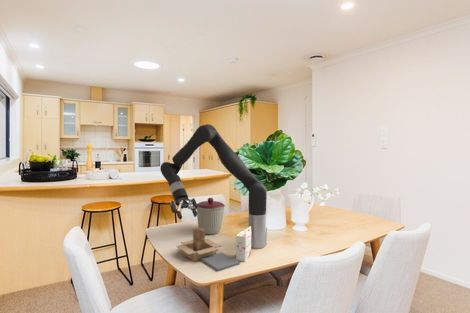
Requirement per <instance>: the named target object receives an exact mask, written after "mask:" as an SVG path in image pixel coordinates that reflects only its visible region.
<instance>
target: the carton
mask: <svg viewBox="0 0 470 313" xmlns="http://www.w3.org/2000/svg"><path fill="white" fill-rule="evenodd" d="M180 243H181V244H180V245H176V247H177V249H179V250H180V251H181V253H182V254H183V255H184V256H186V257H187V258H188V259H190V260H192V261H193V262H197V261H201V260H200V258H202V257H206V256H209V255H213V254H216V253H217V251H218V250H219V249H218V248H219V247H222V246H221V245H220V244H219V243H216V242H215V241H213V240H211V239H209V238H206V239H205V249H203V250H199V251H193V239H191V240H186V241H181V242H180Z"/></svg>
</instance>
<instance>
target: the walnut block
mask: <svg viewBox="0 0 470 313" xmlns="http://www.w3.org/2000/svg"><path fill="white" fill-rule="evenodd" d="M192 230H193V234H192V235H193V236H192V240H193V251H199V250H203V249H205V238H206V237H205V236H206V234H205V230H204V229H202V228H199V227H198V228H193V229H192Z"/></svg>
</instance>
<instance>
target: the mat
mask: <svg viewBox="0 0 470 313" xmlns="http://www.w3.org/2000/svg"><path fill="white" fill-rule="evenodd" d="M199 261H201V262H203V263H204V264H206V265H208V266H209V267H210V268H212V269H213V270H215V271H216V272H221V271H224V270H226V269H229V268H233V267H235V266H238V265H240V263H241V261H238V260H236V258H234V257H232V256H230V255H228V254H226V253H224V252H222V251H219V252H216V254H213V255H209V256H206V257H202V258H200V260H199Z"/></svg>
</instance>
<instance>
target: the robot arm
mask: <svg viewBox="0 0 470 313" xmlns="http://www.w3.org/2000/svg"><path fill="white" fill-rule="evenodd" d="M206 143H209V145H211V147H212V148H213V149H214V150H215V152H216V154H217V156H218V158H219V161H220V163H221V164H222V165H223V167H224V168H225V169H226V170H227V171H228V173H230V174H231V175H232V176H233V177H234V178H235V179H237V180H238V181H239V182H240V183H241V184H243V186H244V187H245V188H246V190H247V191H248V223H247V226H248V227H250V226H251V249H252V248H253V249H262V248H265V247H266V246H267V239H268V237H267V236H268V228H267V227H266V226H267V225H266V224H267V199H268V198H267V196H268V195H267V193H268V192H267V188H266V185H265V184H263V183H262V182H261V181H260V180H259V179H258V178H257V177H256V176H254V174H253V173H252V172H251V171H250V169H249V168H248V166H247V165H246V164H245V163H244V162H243V159H241V158H240V156H238V154H237V153H236V152H235V151H234V150H233V149H232V148H231V147H230V146H229V145H228V143H227V142H226V141H225V139H224V138H223V137H222V136H221V135H220V133H219V132H218V130H217V129H216V127H214V126H213V125H212V124H208V123H207V124H201V125H200V126H198V127H197V128H196V130H195V131H194V133H193V134H192V136H191V137H190V138H189V140H188V141H187V142H186V143H185V144H184V145H183V146H182V147H181V148H180V149H179V151H177V152H176V153H175V154H174V156H172V162H168V161H164V162H162V163H161V165H160V169H159V170H160V173H161V174H162V176H163V178H164V179H165V180H166V182H167V183H168V186H169V189H170V193H171V195H172V197H173V198H172V199H173V200H171V201H170V202H169V206H170V209H171V213H172V214H174V213H175V214H176V216H177V218H178V219H179V220H182V218H183V215H182V213H181V210H182V209H188V210H191V211H192V216H193V217H194V218H196V217H197V208H198V205H197V204H198V203H197V201H196V199H195V198H194V197H193V198H192V199H190V198H189V196H188V193H187V190H186V188H185V186H184V184H183V180H181V177H180V176H179V175H178V173H179V172H180V171H181V169H182V167H183V166H184V164H185V163H186V162H187V161H188V160H189V159H191V157H193V154H194V153H195V152H196V151H197V149H199V147H201V146H202V145H204V144H206ZM176 206H177V207H176ZM248 227H247V228H248ZM248 231H249V230H248Z"/></svg>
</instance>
